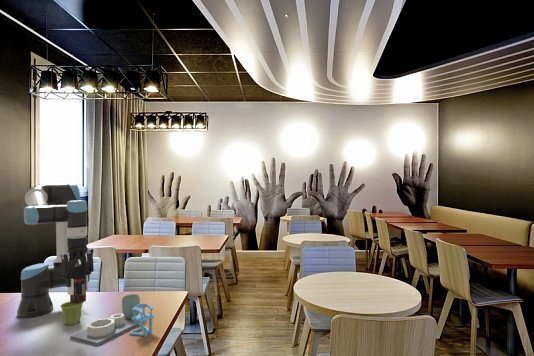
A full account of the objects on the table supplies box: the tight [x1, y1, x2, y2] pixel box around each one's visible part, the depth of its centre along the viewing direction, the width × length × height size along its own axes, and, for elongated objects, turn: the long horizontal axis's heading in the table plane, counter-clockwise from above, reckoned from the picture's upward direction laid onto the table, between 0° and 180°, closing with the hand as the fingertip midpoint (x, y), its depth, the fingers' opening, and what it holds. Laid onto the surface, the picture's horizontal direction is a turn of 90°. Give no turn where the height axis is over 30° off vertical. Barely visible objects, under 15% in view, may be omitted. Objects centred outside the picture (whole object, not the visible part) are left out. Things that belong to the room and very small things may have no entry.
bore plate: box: [69, 313, 140, 347], centre depth 153 cm, size 16×22×5 cm
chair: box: [128, 303, 155, 338], centre depth 151 cm, size 8×8×12 cm
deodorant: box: [69, 264, 87, 304], centre depth 149 cm, size 6×6×15 cm
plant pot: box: [59, 301, 84, 326], centre depth 164 cm, size 9×9×9 cm
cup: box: [121, 293, 141, 320], centre depth 168 cm, size 8×8×10 cm
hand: (78, 292), depth 149 cm, fingers closed on deodorant, 6 cm apart
